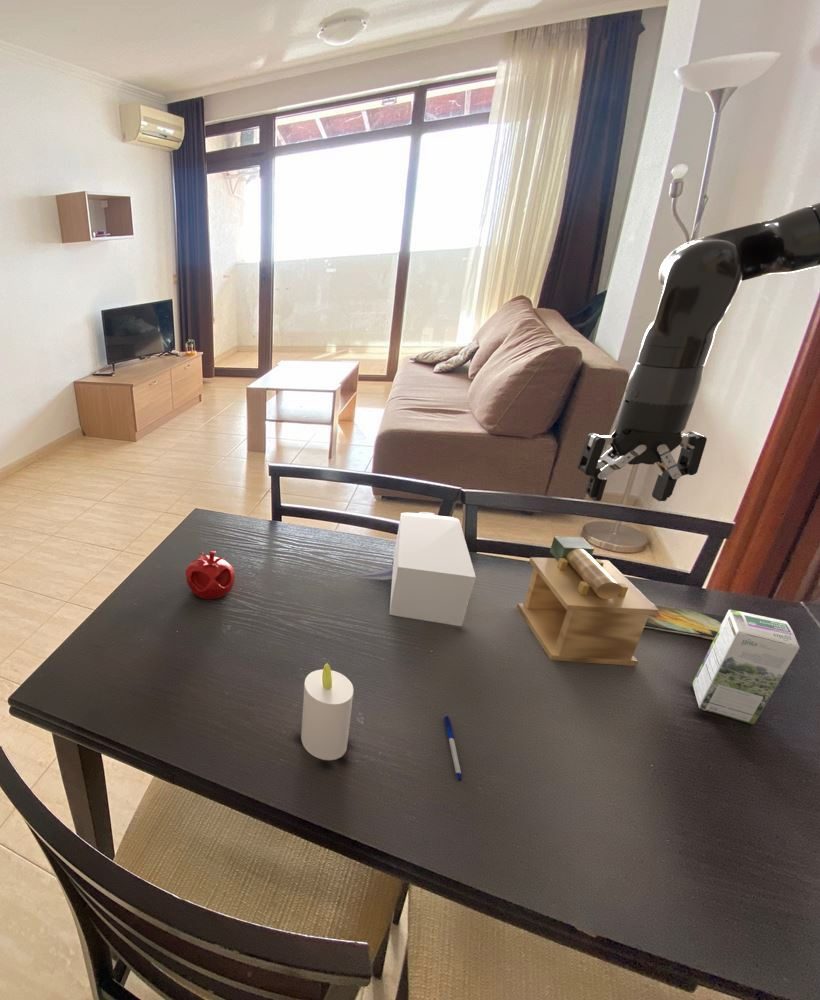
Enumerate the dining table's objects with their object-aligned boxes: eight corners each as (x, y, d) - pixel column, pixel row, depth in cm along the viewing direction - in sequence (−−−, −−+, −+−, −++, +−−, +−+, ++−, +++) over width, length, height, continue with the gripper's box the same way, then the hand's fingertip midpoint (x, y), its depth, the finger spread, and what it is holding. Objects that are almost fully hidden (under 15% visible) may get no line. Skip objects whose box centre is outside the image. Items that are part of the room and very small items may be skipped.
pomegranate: (186, 577, 116) (184, 540, 112) (232, 575, 116) (232, 538, 112) (187, 605, 108) (184, 566, 104) (237, 603, 107) (236, 564, 103)
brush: (622, 600, 83) (628, 583, 81) (589, 598, 84) (595, 581, 82) (577, 552, 95) (582, 537, 94) (549, 551, 96) (553, 536, 95)
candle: (356, 738, 77) (366, 657, 70) (332, 768, 73) (341, 685, 66) (316, 715, 81) (322, 637, 74) (292, 742, 77) (296, 662, 70)
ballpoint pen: (442, 718, 79) (443, 713, 78) (448, 719, 78) (449, 714, 78) (456, 781, 70) (458, 776, 69) (464, 782, 69) (466, 777, 69)
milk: (461, 626, 96) (448, 541, 116) (475, 577, 90) (459, 496, 110) (389, 614, 100) (389, 534, 120) (398, 566, 94) (396, 491, 114)
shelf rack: (590, 611, 97) (611, 551, 92) (636, 666, 85) (663, 600, 79) (516, 607, 100) (532, 548, 94) (550, 659, 87) (571, 595, 82)
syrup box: (744, 698, 78) (787, 618, 72) (754, 727, 74) (802, 644, 67) (691, 684, 81) (728, 606, 75) (698, 710, 77) (738, 630, 70)
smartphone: (617, 599, 99) (727, 616, 92) (616, 602, 99) (725, 619, 93) (628, 622, 93) (746, 642, 87) (627, 625, 93) (744, 645, 87)
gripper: (700, 387, 78) (664, 489, 84) (587, 390, 80) (561, 488, 87) (740, 401, 71) (697, 510, 78) (616, 404, 74) (585, 509, 81)
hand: (625, 499), depth 83 cm, fingers open, 8 cm apart
